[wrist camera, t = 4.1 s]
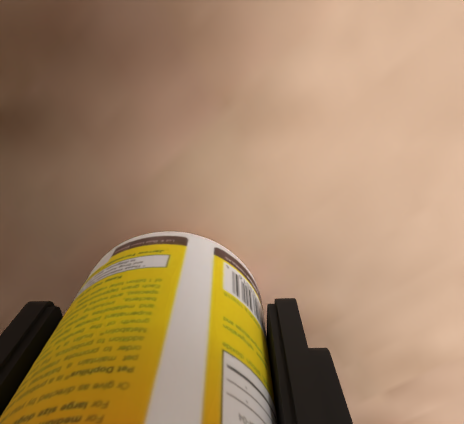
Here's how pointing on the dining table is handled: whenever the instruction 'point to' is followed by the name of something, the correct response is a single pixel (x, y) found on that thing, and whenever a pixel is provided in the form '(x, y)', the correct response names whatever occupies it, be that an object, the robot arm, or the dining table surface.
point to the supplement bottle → (155, 342)
